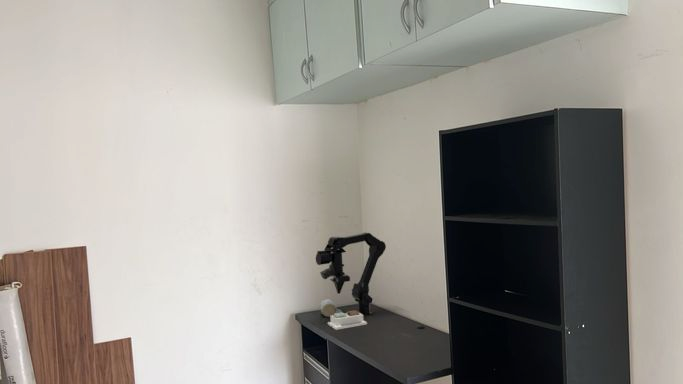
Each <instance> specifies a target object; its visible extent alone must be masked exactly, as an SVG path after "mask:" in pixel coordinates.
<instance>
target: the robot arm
mask: <svg viewBox="0 0 683 384" xmlns="http://www.w3.org/2000/svg"><path fill="white" fill-rule="evenodd" d="M362 242H365V243H366V245H367V246H368V247H369V248H368V254H369V255H368V258H367V260H366V263H365V266H364V269H363V271H362V273H361V276H360V279H359V281H358V283H355V282H354V284H353V287H352V289H351V291H352V292H351V296H352V298H353V299H354V300H355V302H357V303H358V305H357V306H358V307H357V308H358V312H359V313H361V314H363V317H364V316H369V315H373V312H371V307H370V304H372V302H373V297H371V296H370V295H369V293H370V287H369V284H370V282H371V280H372V276H373V273H374V272H375V268H376V266H377V263H378V260H379V259H380V257H382V255H383V254H384V252H385V251H386V247H387V246H386V243H385V241H383V240H380V239H379V238H377V237H376V236H374V235H373V234H371V233H370V232H362V233H358V234H357V233H356V234H352V235H347V236H331V237H329V239H328V241H327V243H326V246H325V248H324V249H323V250H317V252H316V255H315V263H316V265H317V266H320V265H321V266H322V265H326V264H327V265H328V264H329V266H328V268H326V269H323V270H322V271H320V272H319V273H320V275H321V278H322V279H323V280H327V279H328V278H330V277H331V278H330V279H329V280H330V281H331V282H333V284H334V287H335V291H336V293H337V294H341V292H342V289H343V287H344V285H345V283H346V282H351V276H350V275H348V274H345V272H344V267H345V264H344V263H343V253H346V252H347V251H346V250H345V249H344V248H346V246H349V245H352V244H358V243H362Z"/></svg>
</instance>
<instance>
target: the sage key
mask: <svg viewBox="0 0 683 384" xmlns="http://www.w3.org/2000/svg"><path fill="white" fill-rule="evenodd" d="M334 317H335V318H342V317H346V314H345V313H344V312H343V311H342V312H341V313H335V314H334Z"/></svg>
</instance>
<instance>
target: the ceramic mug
mask: <svg viewBox="0 0 683 384" xmlns="http://www.w3.org/2000/svg"><path fill="white" fill-rule="evenodd" d="M319 307H320V311H321V313H322V315H323V316H324V317H327V318H330V316H331V315H334V314H335V313H341V312H343V311H342V310H341V309H339V308H337V307H336V305H335V303H334V301H333V300H331V299H324V300H322V301H321V302H320V306H319Z"/></svg>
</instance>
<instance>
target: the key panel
mask: <svg viewBox="0 0 683 384" xmlns="http://www.w3.org/2000/svg"><path fill="white" fill-rule="evenodd" d="M345 314H346V317H342V318H335V317H334V315H331V316H330V317H329V318H330V321H328V322H327V325H328V326H329V327H331V328H333V329H334V330H336V331H338V330H343V329H349V328H353V327H359V326H365V325H368V322H367V321H366V320H364V316H363V314H361V313H359V315H354V316H349V315H348V314H347V312H346V313H345Z"/></svg>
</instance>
